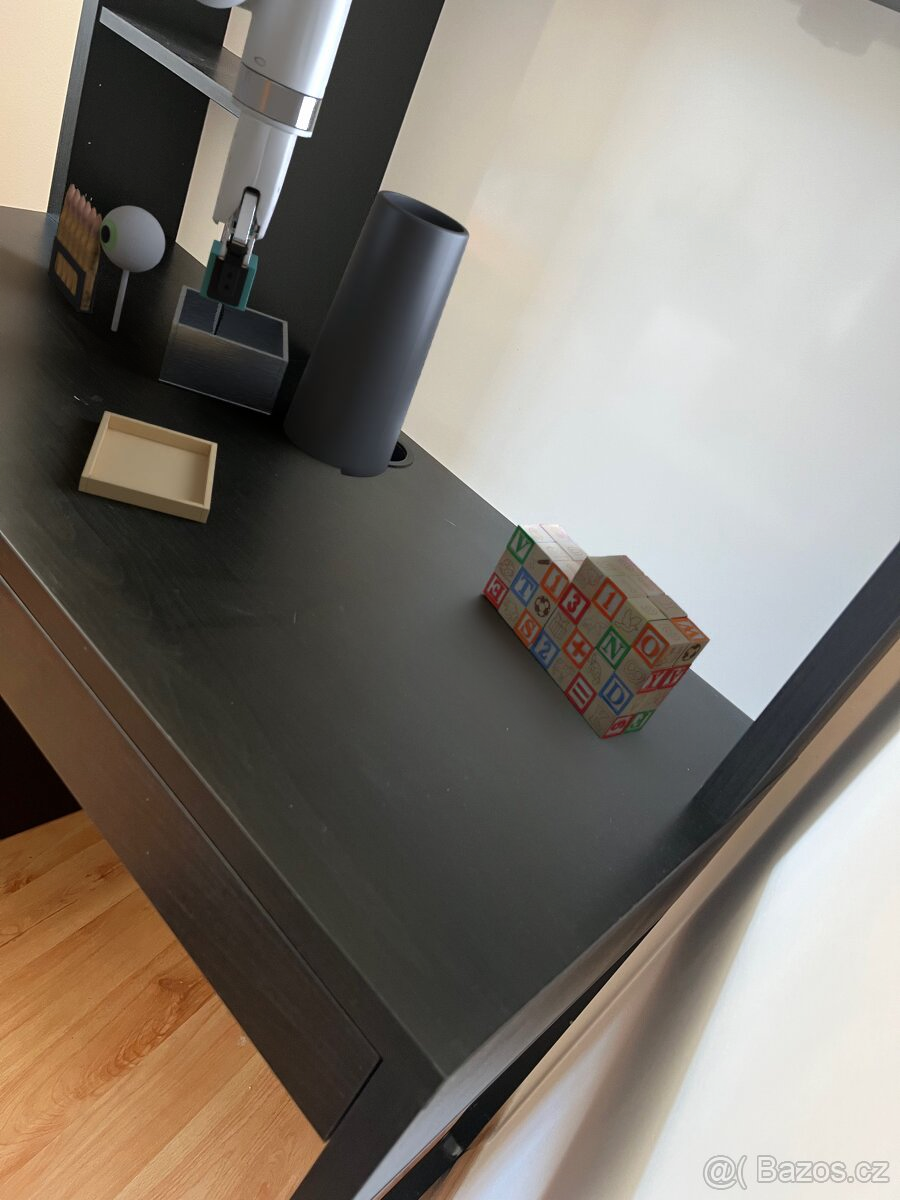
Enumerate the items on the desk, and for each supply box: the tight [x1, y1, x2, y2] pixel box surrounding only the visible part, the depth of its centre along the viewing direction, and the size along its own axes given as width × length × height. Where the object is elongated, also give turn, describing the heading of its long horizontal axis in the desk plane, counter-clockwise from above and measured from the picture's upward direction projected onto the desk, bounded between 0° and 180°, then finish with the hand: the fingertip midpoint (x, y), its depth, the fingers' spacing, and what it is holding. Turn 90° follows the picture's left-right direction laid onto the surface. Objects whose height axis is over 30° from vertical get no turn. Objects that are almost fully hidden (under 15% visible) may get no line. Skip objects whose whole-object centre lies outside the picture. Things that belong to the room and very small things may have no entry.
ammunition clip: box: [47, 183, 103, 315], centre depth 105 cm, size 11×2×12 cm, turn 39°
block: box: [199, 239, 259, 311], centre depth 85 cm, size 4×4×4 cm
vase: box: [282, 189, 470, 477], centre depth 97 cm, size 14×14×29 cm
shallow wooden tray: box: [78, 410, 218, 524], centre depth 82 cm, size 11×13×2 cm
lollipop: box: [100, 205, 166, 332], centre depth 101 cm, size 7×7×15 cm
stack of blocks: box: [482, 523, 711, 740], centre depth 84 cm, size 21×6×12 cm, turn 34°
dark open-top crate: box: [157, 284, 289, 418], centre depth 103 cm, size 13×13×8 cm
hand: (224, 291), depth 86 cm, fingers closed on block, 4 cm apart
